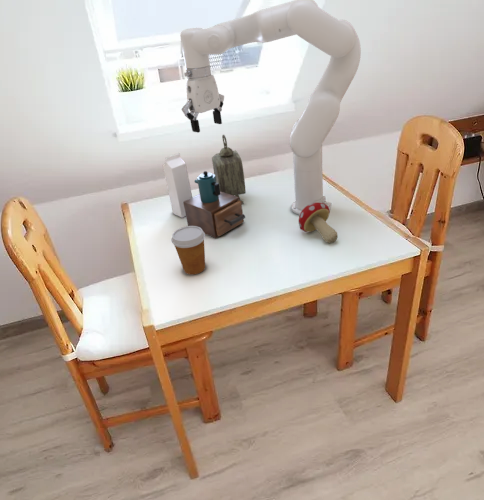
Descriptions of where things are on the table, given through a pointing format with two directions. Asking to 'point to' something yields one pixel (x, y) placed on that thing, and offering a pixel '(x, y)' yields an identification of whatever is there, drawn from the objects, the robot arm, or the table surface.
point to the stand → (206, 212)
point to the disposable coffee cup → (190, 248)
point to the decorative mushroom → (317, 221)
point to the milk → (177, 183)
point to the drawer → (228, 217)
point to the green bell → (229, 171)
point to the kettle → (208, 187)
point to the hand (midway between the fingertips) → (207, 127)
